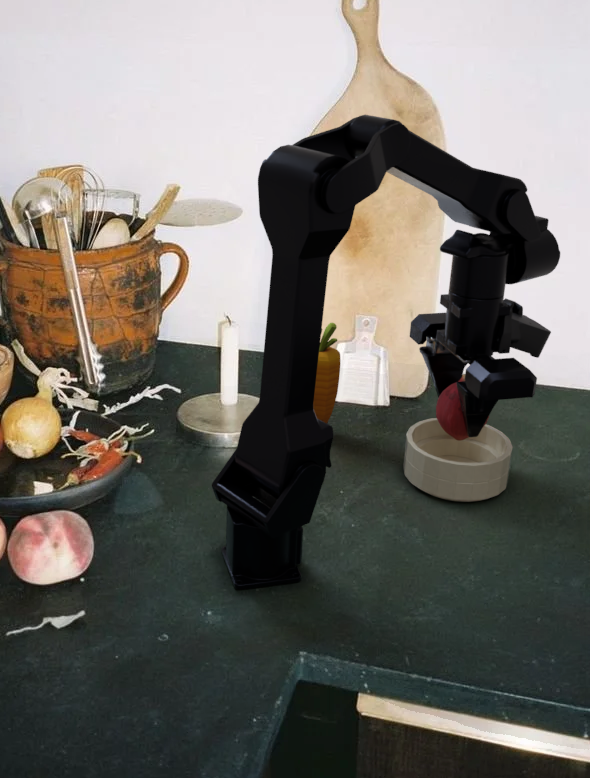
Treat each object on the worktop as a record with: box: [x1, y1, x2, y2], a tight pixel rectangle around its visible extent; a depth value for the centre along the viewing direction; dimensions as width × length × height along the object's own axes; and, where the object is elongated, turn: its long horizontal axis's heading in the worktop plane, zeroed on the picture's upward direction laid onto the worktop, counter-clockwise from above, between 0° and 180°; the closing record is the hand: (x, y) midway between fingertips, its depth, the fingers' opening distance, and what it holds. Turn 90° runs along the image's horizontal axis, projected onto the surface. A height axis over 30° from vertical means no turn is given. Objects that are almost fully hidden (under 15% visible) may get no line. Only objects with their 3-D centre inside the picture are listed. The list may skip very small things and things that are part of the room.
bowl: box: [402, 417, 514, 503], centre depth 106 cm, size 12×12×5 cm
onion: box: [435, 373, 490, 441], centre depth 104 cm, size 6×6×8 cm
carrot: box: [313, 322, 341, 424], centre depth 114 cm, size 5×5×15 cm
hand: (460, 424), depth 104 cm, fingers closed on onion, 6 cm apart
